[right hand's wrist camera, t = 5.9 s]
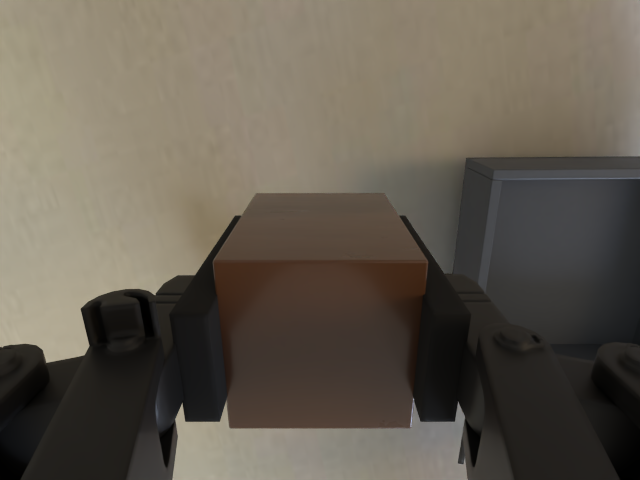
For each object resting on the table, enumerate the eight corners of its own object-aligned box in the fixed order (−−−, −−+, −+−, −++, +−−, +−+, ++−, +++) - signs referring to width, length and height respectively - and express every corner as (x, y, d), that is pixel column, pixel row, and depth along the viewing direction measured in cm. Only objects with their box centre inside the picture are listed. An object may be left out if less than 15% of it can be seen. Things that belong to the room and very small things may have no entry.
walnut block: (255, 192, 14) (211, 260, 8) (384, 192, 14) (429, 261, 8) (261, 306, 15) (228, 429, 10) (378, 306, 15) (411, 429, 10)
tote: (466, 157, 27) (500, 172, 22) (689, 156, 27) (776, 170, 22) (431, 457, 37) (449, 517, 31) (597, 456, 36) (643, 516, 31)
